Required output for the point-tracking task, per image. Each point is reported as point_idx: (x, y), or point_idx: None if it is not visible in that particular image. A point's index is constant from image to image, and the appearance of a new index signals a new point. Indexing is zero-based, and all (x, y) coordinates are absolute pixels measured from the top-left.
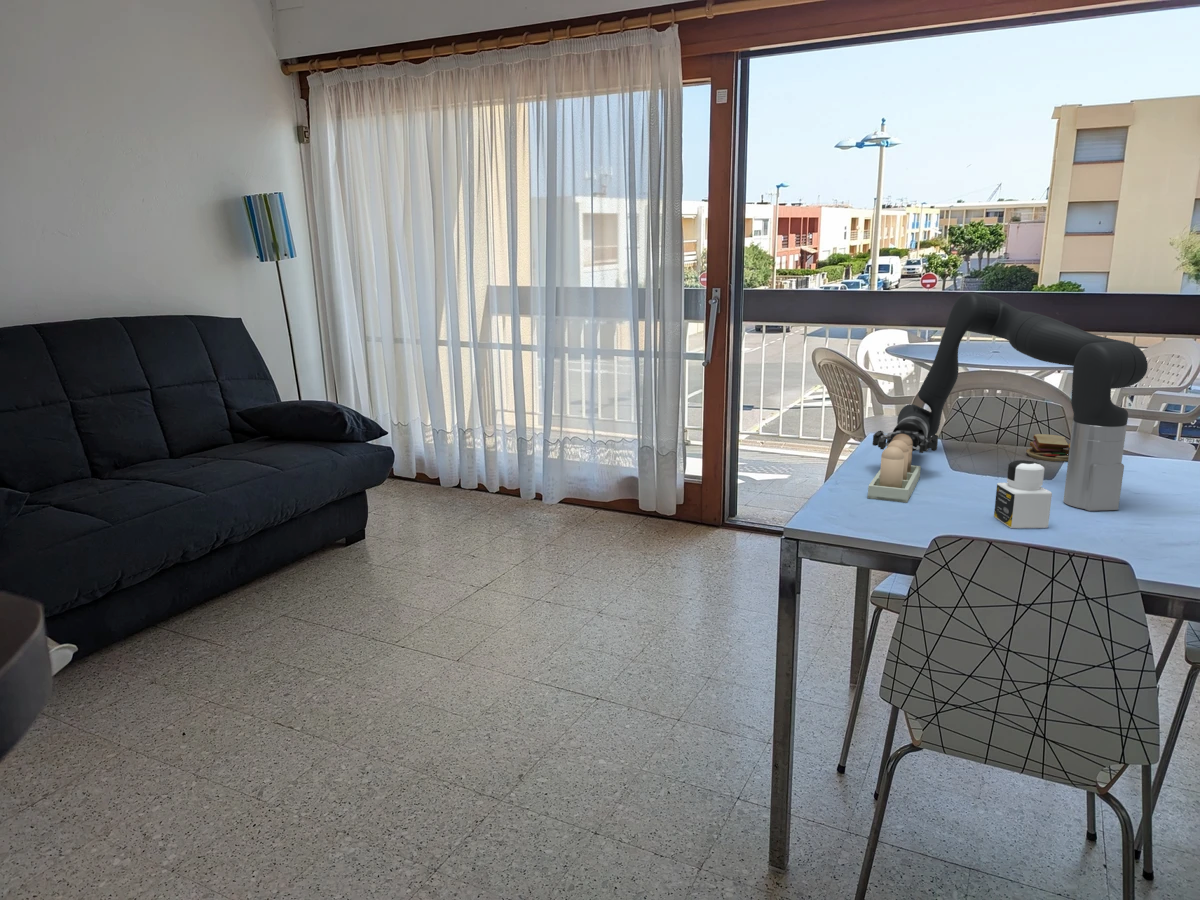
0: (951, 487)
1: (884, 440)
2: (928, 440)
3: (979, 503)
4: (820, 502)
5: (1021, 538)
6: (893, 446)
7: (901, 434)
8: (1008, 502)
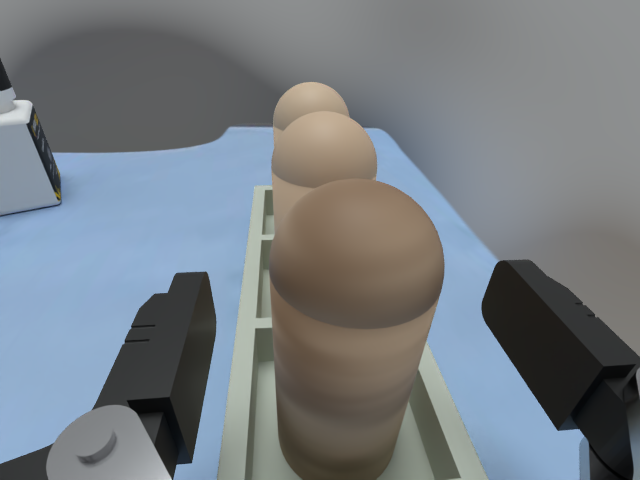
0: (60, 416)
1: (518, 279)
2: (65, 434)
3: (41, 267)
4: (421, 180)
5: (65, 158)
6: (313, 83)
7: (365, 180)
8: (41, 132)
